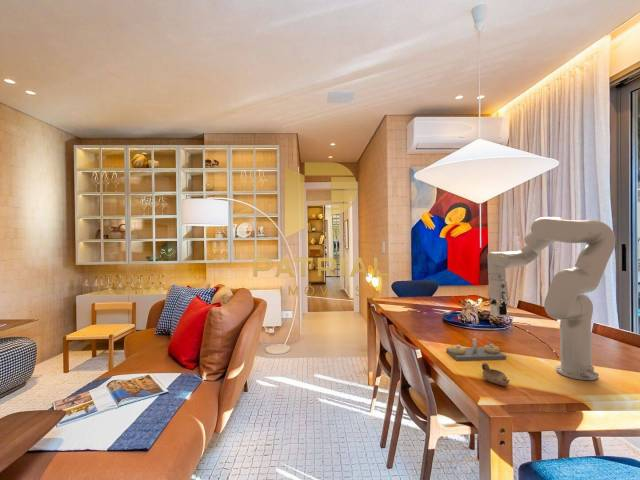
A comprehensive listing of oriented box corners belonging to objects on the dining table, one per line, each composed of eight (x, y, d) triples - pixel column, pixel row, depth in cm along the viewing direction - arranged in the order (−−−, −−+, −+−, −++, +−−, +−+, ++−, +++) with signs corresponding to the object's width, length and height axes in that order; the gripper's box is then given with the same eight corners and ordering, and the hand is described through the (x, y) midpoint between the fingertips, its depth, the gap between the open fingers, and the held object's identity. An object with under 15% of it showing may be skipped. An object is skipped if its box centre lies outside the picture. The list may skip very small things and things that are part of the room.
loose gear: (510, 316, 154) (509, 305, 154) (495, 316, 154) (494, 306, 154) (502, 313, 162) (501, 303, 162) (487, 313, 162) (487, 303, 162)
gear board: (506, 359, 142) (505, 342, 142) (456, 360, 143) (456, 343, 143) (492, 349, 154) (491, 334, 154) (446, 351, 155) (445, 335, 155)
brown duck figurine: (515, 388, 115) (514, 374, 115) (495, 389, 115) (494, 375, 115) (492, 373, 128) (492, 361, 128) (474, 374, 128) (474, 362, 128)
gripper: (515, 278, 150) (516, 316, 149) (495, 275, 167) (496, 309, 167) (498, 279, 150) (500, 317, 149) (480, 275, 167) (482, 309, 167)
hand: (498, 312), depth 158 cm, fingers closed on loose gear, 7 cm apart
